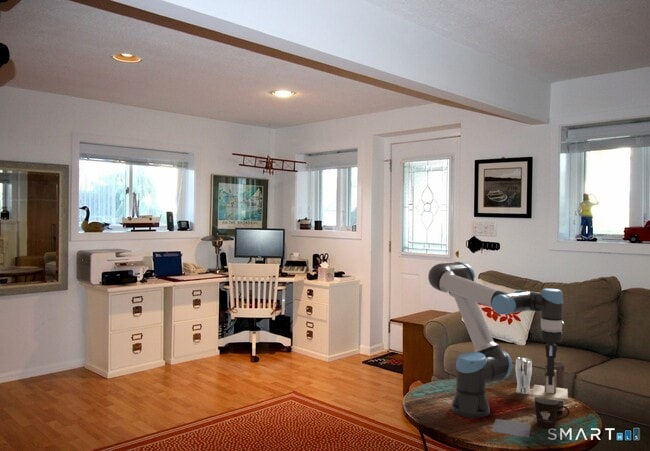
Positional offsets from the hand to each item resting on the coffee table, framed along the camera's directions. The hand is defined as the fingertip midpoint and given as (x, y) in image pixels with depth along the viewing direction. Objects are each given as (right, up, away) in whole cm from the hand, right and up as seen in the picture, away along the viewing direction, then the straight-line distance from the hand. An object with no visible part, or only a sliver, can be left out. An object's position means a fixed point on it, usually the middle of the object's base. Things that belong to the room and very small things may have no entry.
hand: (550, 390), depth 201 cm
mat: (-15, -14, -1) cm, 21 cm away
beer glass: (+4, -13, +39) cm, 41 cm away
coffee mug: (0, -14, 0) cm, 14 cm away
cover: (0, -1, 0) cm, 1 cm away
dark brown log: (+9, -14, +17) cm, 24 cm away
